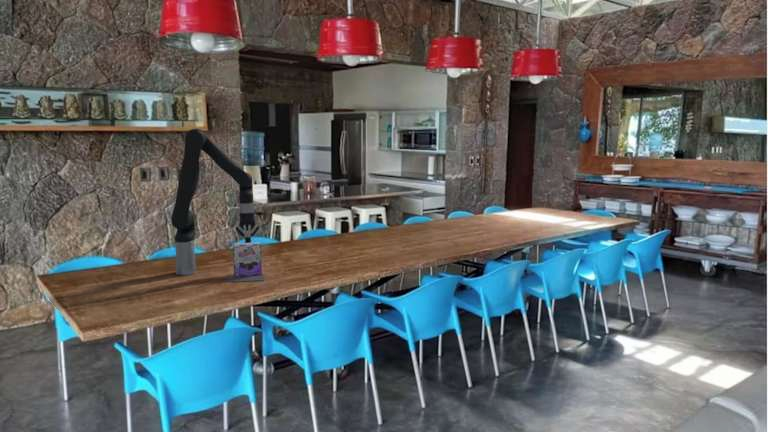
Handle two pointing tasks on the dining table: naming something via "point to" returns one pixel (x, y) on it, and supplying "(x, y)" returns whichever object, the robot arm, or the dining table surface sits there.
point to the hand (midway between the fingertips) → (248, 244)
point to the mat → (246, 278)
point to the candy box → (247, 259)
